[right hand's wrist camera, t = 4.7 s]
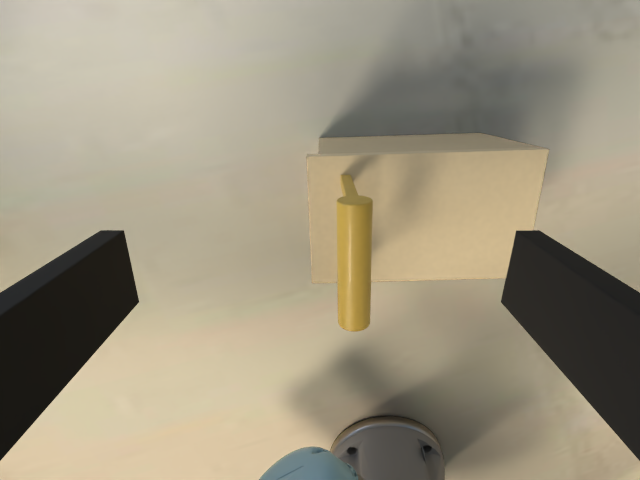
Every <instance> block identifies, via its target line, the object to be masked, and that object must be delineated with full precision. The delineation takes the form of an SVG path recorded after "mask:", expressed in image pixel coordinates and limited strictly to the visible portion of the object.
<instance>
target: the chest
mask: <svg viewBox="0 0 640 480" xmlns="http://www.w3.org/2000/svg"><path fill="white" fill-rule="evenodd" d="M524 147H538V146H534V145H530V144H526V143H521V142H517V141H513V140H509V139H505V138H500V137H496V136H492V135H488V134H483V133H460V134H429V135H397V136H365V137H333V138H319V154H331V153H363V152H396V151H428V150H460V149H492V148H524Z"/></svg>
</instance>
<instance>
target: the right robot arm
mask: <svg viewBox="0 0 640 480" xmlns="http://www.w3.org/2000/svg"><path fill="white" fill-rule="evenodd" d="M138 302H139V300H138V295H137V290H136V286H135V281H134V276H133V271H132V267H131V262H130V257H129V253H128V248H127V243H126V239H125V234H124V231H99V232H98V233H96V234H94V235H93V236H91V237H90V238H88V239H86V240H85V241H83V242H82V243H80V244H78V245H77V246H75V247H73V248H72V249H70V250H69V251H67V252H65V253H64V254H62V255H61V256H59V257H57V258H56V259H54V260H53V261H51V262H49V263H48V264H46V265H44V266H43V267H41V268H40V269H38V270H36V271H35V272H33V273H32V274H30V275H28V276H27V277H25V278H23V279H22V280H20V281H19V282H17V283H15V284H14V285H12V286H11V287H9V288H7V289H6V290H4V291H2V292H1V293H0V460H1V459H2V458H3V457H4V456H5V455H6V454H7V452H8V451H9V450H10V449H11V448H12V447H13V445H14V444H15V443H16V442H17V441H18V440H19V439H20V437H21V436H22V435H23V434H24V433H25V432H26V431H27V429H28V428H29V427H30V426H31V425H32V424H33V423H34V421H35V420H36V419H37V418H38V417H39V416H40V415H41V413H42V412H43V411H44V410H45V409H46V408H47V407H48V405H49V404H50V403H51V402H52V401H53V400H54V399H55V397H56V396H57V395H58V394H59V393H60V392H61V391H62V389H63V388H64V387H65V386H66V385H67V384H68V383H69V381H70V380H71V379H72V378H73V377H74V376H75V375H76V373H77V372H78V371H79V370H80V369H81V368H82V367H83V365H84V364H85V363H86V362H87V361H88V360H89V359H90V357H91V356H92V355H93V354H94V353H95V352H96V351H97V349H98V348H99V347H100V346H101V345H102V344H103V343H104V341H105V340H106V339H107V338H108V337H109V336H110V334H111V333H112V332H113V331H114V330H115V329H116V328H117V326H118V325H119V324H120V323H121V322H122V321H123V320H124V318H125V317H126V316H127V315H128V314H129V313H130V312H131V310H132V309H133V308H134V307H135V306H136V305H137V304H138ZM501 302H502V304H503V305H504V306H505V307H506V308H507V309H508V310H509V312H510V313H511V314H512V315H513V316H514V317H515V318H516V320H517V321H518V322H519V323H520V324H521V325H522V326H523V328H524V329H525V330H526V331H527V332H528V333H529V334H530V336H531V337H532V338H533V339H534V340H535V341H536V343H537V344H538V345H539V346H540V347H541V348H542V349H543V351H544V352H545V353H546V354H547V355H548V356H549V357H550V359H551V360H552V361H553V362H554V363H555V364H556V365H557V367H558V368H559V369H560V370H561V371H562V372H563V373H564V375H565V376H566V377H567V378H568V379H569V380H570V381H571V383H572V384H573V385H574V386H575V387H576V388H577V389H578V391H579V392H580V393H581V394H582V395H583V396H584V397H585V399H586V400H587V401H588V402H589V403H590V404H591V405H592V407H593V408H594V409H595V410H596V411H597V412H598V413H599V415H600V416H601V417H602V418H603V419H604V420H605V421H606V423H607V424H608V425H609V426H610V427H611V428H612V429H613V431H614V432H615V433H616V434H617V435H618V436H619V437H620V439H621V440H622V441H623V442H624V443H625V444H626V445H627V447H628V448H629V449H630V450H631V451H632V452H633V454H634V455H635V456H636V457H637V458H638V459H639V460H640V293H639V292H638V291H636V290H634V289H633V288H631V287H629V286H628V285H626V284H625V283H623V282H621V281H620V280H618V279H617V278H615V277H613V276H612V275H610V274H608V273H607V272H605V271H604V270H602V269H600V268H599V267H597V266H596V265H594V264H592V263H591V262H589V261H587V260H586V259H584V258H583V257H581V256H579V255H578V254H576V253H575V252H573V251H571V250H570V249H568V248H567V247H565V246H563V245H562V244H560V243H558V242H557V241H555V240H554V239H552V238H550V237H549V236H547V235H546V234H544V233H542V232H541V231H516V234H515V239H514V243H513V248H512V253H511V257H510V262H509V267H508V271H507V276H506V281H505V285H504V290H503V295H502V300H501Z"/></svg>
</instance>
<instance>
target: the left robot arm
mask: <svg viewBox="0 0 640 480" xmlns="http://www.w3.org/2000/svg"><path fill="white" fill-rule="evenodd" d="M259 480H445V466H444V458H443V454H442V451H441V448H440V445H439V443H438V440H437V438H436V437H435V435H434V434H433V433H432V432H431V431H430V430H429V429H428V428H426V427H425V426H424V425H422V424H420V423H418V422H416V421H413V420H410V419H407V418H402V417H394V416H384V417H375V418H370V419H367V420H363V421H361V422H358V423H356V424H354V425H352V426H351V427H349V428H347V429H346V430H345V431H344V432H342V433H341V434H340V435H339V436H338V437H337V439H336V440H335V442H334V443H333V445H332V447H331V450H330V452H329V451H328V450H325V449H323V448H319V447H306V448H301V449H298V450H296V451H293V452H291V453H289V454H288V455H286V456H284V457H283V458H281V459H280V460H279V461H277V462H276V463H275V464H274V465H273V466H271V467H270V468H269V469H268V470H267V471H266V472H265V473H264V474H263V475H262V477H261V478H260V479H259Z"/></svg>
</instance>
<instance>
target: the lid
mask: <svg viewBox="0 0 640 480" xmlns="http://www.w3.org/2000/svg"><path fill="white" fill-rule="evenodd" d="M548 153H549V149H547V148H543V147H524V148H492V149H460V150H428V151H396V152H363V153H331V154H307V157H306V158H307V181H308V204H309V227H310V250H311V273H312V283H338V323H339V325H340V326H341V327H342V328H343V329H345V330H348V331H361V330H364V329H366V328H367V327H368V326H369V324H370V299H371V282H385V281H421V280H457V279H494V278H506V276H507V271H508V267H509V262H510V257H511V253H512V248H513V243H514V239H515V234H516V231H533V229H534V224H535V218H536V213H537V208H538V203H539V198H540V193H541V188H542V183H543V178H544V173H545V168H546V163H547V158H548Z"/></svg>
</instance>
